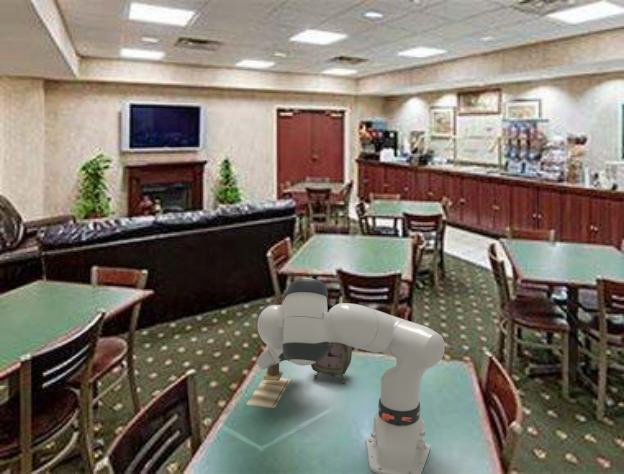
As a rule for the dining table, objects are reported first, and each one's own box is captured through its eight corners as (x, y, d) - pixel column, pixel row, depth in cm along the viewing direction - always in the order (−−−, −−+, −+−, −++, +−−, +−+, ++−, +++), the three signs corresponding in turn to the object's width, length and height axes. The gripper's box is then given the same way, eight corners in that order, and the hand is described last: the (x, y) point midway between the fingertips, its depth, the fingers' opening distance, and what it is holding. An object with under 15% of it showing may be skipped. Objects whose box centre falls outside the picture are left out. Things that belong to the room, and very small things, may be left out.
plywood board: (274, 412, 174) (274, 408, 173) (245, 408, 176) (245, 404, 175) (290, 382, 195) (290, 379, 195) (265, 380, 197) (265, 376, 197)
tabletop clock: (309, 380, 197) (310, 317, 193) (316, 370, 206) (317, 309, 201) (347, 386, 193) (348, 321, 188) (352, 375, 201) (354, 313, 197)
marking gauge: (282, 374, 192) (282, 351, 190) (278, 380, 186) (278, 357, 185) (268, 372, 193) (268, 349, 191) (263, 379, 188) (263, 355, 186)
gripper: (307, 330, 190) (287, 348, 198) (265, 345, 175) (246, 364, 183) (316, 345, 188) (296, 362, 196) (275, 362, 173) (255, 380, 181)
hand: (272, 363), depth 189 cm, fingers closed on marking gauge, 3 cm apart
